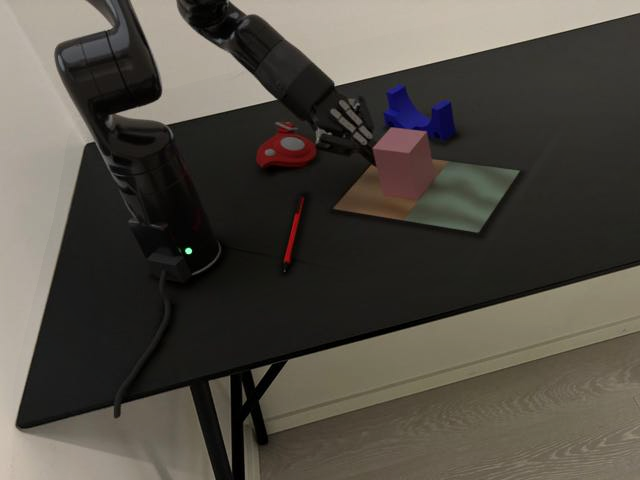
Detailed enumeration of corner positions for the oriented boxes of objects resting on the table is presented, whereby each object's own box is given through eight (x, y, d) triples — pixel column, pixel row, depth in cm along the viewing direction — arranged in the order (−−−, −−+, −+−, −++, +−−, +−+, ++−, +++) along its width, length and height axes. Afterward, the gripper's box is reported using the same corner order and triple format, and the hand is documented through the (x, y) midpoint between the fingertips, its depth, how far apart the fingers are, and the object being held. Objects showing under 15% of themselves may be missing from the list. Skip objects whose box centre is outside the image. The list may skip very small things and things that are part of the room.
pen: (307, 196, 130) (305, 190, 130) (288, 273, 117) (286, 267, 116) (301, 196, 130) (299, 190, 130) (282, 274, 117) (280, 268, 116)
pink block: (418, 200, 125) (409, 153, 119) (383, 195, 127) (372, 148, 121) (435, 178, 128) (426, 131, 123) (400, 173, 131) (390, 127, 125)
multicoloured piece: (479, 235, 118) (478, 232, 117) (333, 211, 126) (332, 208, 126) (520, 173, 128) (520, 170, 127) (382, 155, 136) (382, 152, 136)
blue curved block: (386, 128, 142) (379, 95, 138) (405, 116, 144) (399, 84, 140) (437, 148, 136) (431, 114, 132) (456, 135, 138) (450, 102, 134)
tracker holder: (328, 151, 137) (272, 163, 131) (326, 173, 140) (271, 186, 135) (292, 110, 142) (237, 121, 137) (290, 133, 145) (236, 144, 140)
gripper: (307, 74, 129) (392, 153, 133) (260, 118, 121) (352, 200, 125) (328, 43, 124) (416, 126, 128) (280, 86, 115) (376, 173, 120)
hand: (384, 163), depth 126 cm, fingers closed
